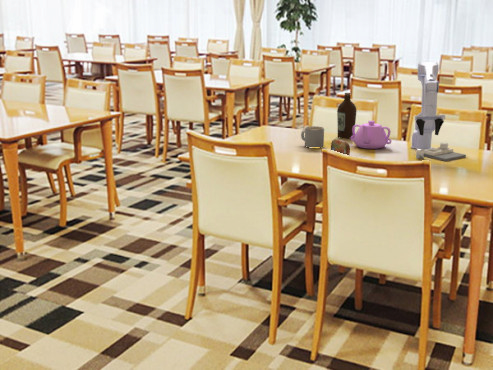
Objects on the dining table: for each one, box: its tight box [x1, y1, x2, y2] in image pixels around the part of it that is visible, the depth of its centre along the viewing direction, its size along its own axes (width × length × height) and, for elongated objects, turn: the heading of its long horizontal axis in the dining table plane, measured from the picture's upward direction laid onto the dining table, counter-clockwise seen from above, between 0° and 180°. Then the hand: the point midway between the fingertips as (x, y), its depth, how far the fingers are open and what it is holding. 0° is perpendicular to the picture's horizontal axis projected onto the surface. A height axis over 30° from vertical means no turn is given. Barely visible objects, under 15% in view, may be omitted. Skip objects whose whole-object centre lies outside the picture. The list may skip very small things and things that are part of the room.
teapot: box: [350, 120, 392, 150], centre depth 317 cm, size 22×22×14 cm
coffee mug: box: [300, 125, 325, 148], centre depth 322 cm, size 13×10×10 cm
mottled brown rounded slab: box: [330, 138, 351, 156], centre depth 297 cm, size 15×3×8 cm, turn 21°
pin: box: [415, 149, 425, 160], centre depth 293 cm, size 4×4×4 cm
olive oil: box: [336, 92, 357, 140], centre depth 342 cm, size 11×11×25 cm
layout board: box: [424, 142, 467, 162], centre depth 297 cm, size 16×15×5 cm
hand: (429, 135), depth 290 cm, fingers open, 7 cm apart
